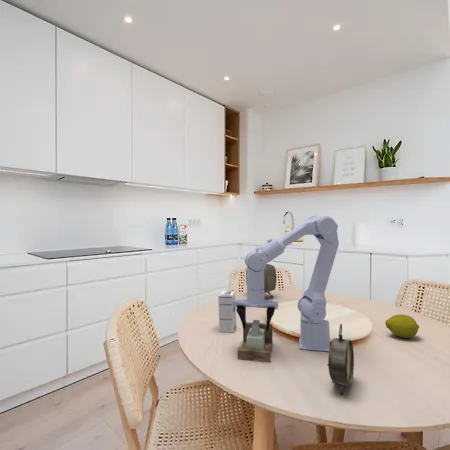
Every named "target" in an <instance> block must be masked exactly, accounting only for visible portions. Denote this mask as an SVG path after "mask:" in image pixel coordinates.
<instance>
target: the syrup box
mask: <svg viewBox="0 0 450 450" xmlns="http://www.w3.org/2000/svg"><path fill="white" fill-rule="evenodd" d="M217 297H218V298H217V299H218V300H217V301H218V325H219V327H218V330H219V332H222V333H235V330H236V328H237V310H236V309H237V307H234V300H236V292H235V291H234V290H222V291H221V292H220V293H219V294H218V295H217Z"/></svg>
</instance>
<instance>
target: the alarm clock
mask: <svg viewBox="0 0 450 450" xmlns="http://www.w3.org/2000/svg"><path fill="white" fill-rule="evenodd" d="M354 353H355V352H354V345H353V341H352V340H351V339H347V338H343V324H342V323H340V324H339V331H338V337H335V338H333V339H332V340H331V341H330V348H329V351H328V357H327V358H328V363H327V366H328V373H329V377H330V380H331V382H332V383H333V382H334V383H335V384H339V385H340V395H342V396H343V395H344V389H345V386H347V387H350V386H352V383H353V378H354V370H355V368H354V367H355V357H354V355H355V354H354Z"/></svg>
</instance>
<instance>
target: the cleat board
mask: <svg viewBox="0 0 450 450" xmlns="http://www.w3.org/2000/svg"><path fill="white" fill-rule="evenodd" d="M252 323H253V322H249V321H246V328H245V329H243V328H242V333H243V334H242V337H243V340H242V344H241V345H240V347H238V348H237V360H242V361H243V360H245V361H254V362H263V363H264V362H266V363H271V357H272V350H273V344H274V343H273V340H274V339H273V337H274V336H273V323H270V325H269V331H266V326H267V323H263V322H262V323H261V322H260V329H265V345H264V349H263V350H255V349H247V340H246V338H247V335H248V332H249V329H250V328H252Z"/></svg>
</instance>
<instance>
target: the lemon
mask: <svg viewBox="0 0 450 450" xmlns="http://www.w3.org/2000/svg"><path fill="white" fill-rule="evenodd" d="M384 324H385V327H386V329H388V330H389V331H390V332H391V333H392V334H393V335H395V336H397V337H399V338H404V339H407V338H409V339H410V338H412V337H415V336H416V335H417V333H418V331H419V329H420V325H419V324H418V323H417V321H416V320H415V318H414V317H412V316H410V315H407V314H402V313H401V314H394V315H392V316H391V317H389V318H388V319H386V320H385V322H384Z"/></svg>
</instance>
